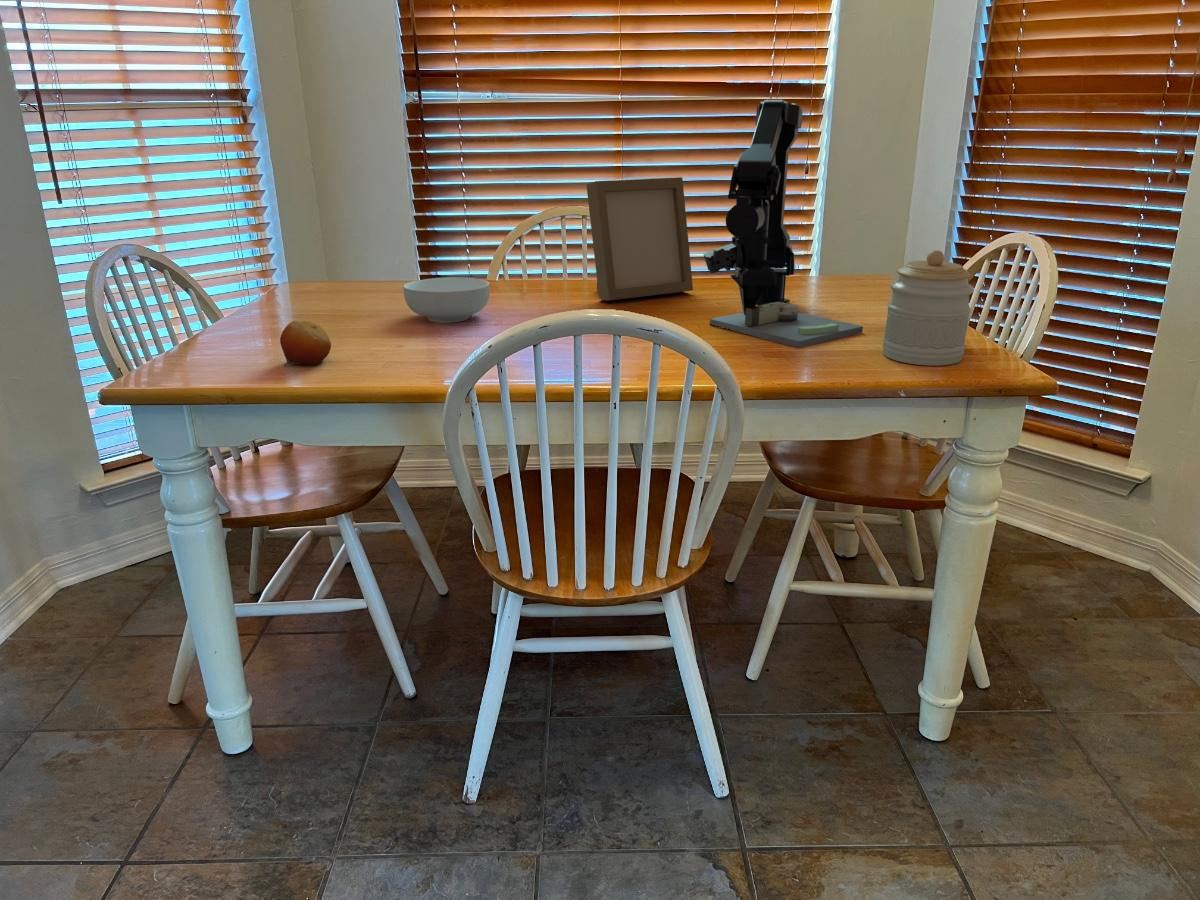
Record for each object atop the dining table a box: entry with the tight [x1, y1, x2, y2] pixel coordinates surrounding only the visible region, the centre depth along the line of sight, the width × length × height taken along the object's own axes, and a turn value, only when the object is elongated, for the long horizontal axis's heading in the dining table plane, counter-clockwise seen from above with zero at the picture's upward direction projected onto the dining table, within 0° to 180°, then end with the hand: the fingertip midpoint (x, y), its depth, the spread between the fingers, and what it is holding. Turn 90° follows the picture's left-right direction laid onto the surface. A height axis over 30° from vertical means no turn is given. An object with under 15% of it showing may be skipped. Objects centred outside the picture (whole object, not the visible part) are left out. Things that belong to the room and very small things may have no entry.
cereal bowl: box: [402, 276, 491, 324], centre depth 172 cm, size 17×17×7 cm
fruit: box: [279, 320, 332, 368], centre depth 141 cm, size 8×8×8 cm
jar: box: [882, 249, 975, 367], centre depth 142 cm, size 13×13×18 cm
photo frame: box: [586, 176, 694, 302], centre depth 191 cm, size 15×22×25 cm
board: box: [709, 311, 864, 349], centre depth 163 cm, size 18×22×2 cm
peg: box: [745, 302, 799, 326], centre depth 163 cm, size 12×5×3 cm, turn 127°
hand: (746, 315), depth 163 cm, fingers closed
